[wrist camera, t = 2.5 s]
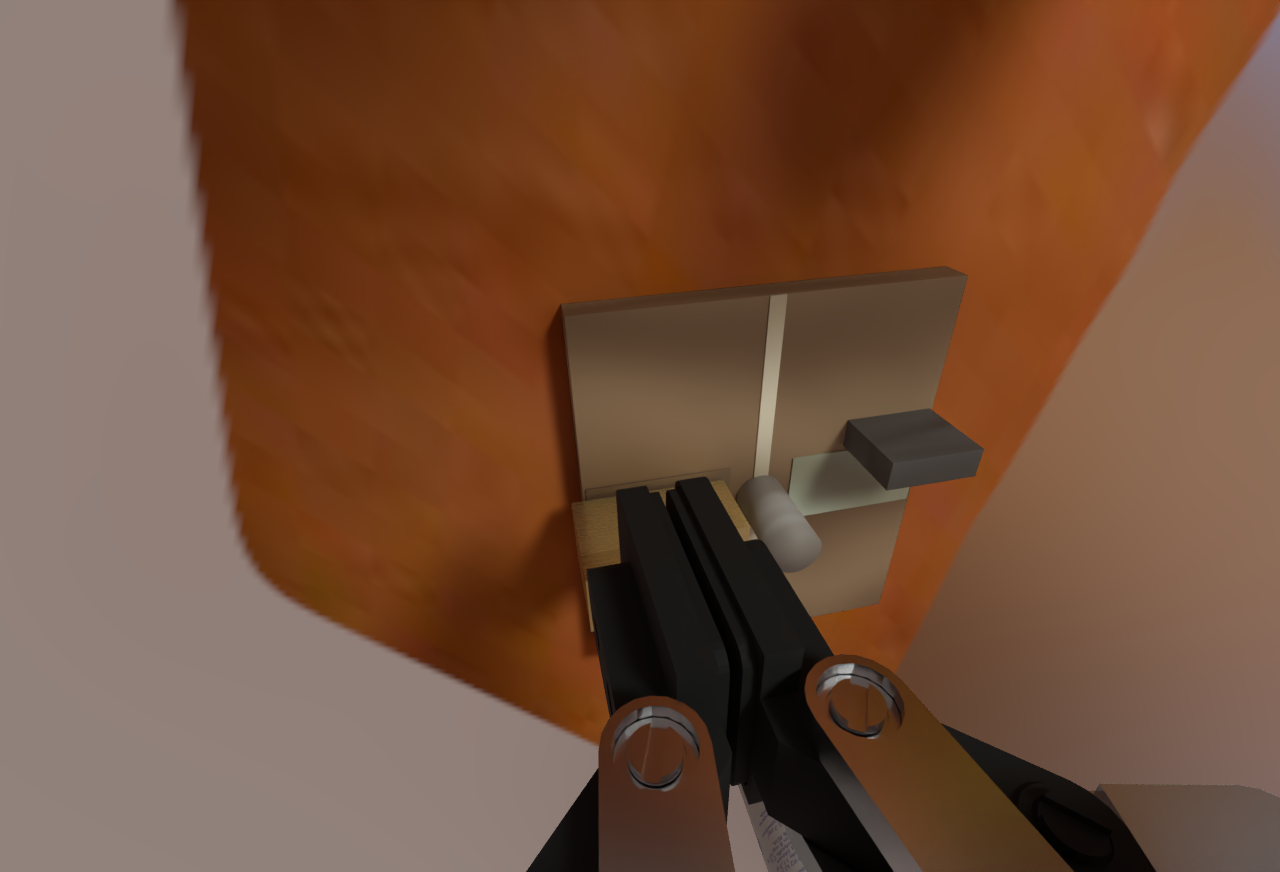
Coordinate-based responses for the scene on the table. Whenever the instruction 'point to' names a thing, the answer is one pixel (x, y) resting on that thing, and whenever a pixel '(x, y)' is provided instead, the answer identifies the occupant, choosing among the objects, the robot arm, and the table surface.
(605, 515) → the latch bar
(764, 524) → the lock board
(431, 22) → the table surface
